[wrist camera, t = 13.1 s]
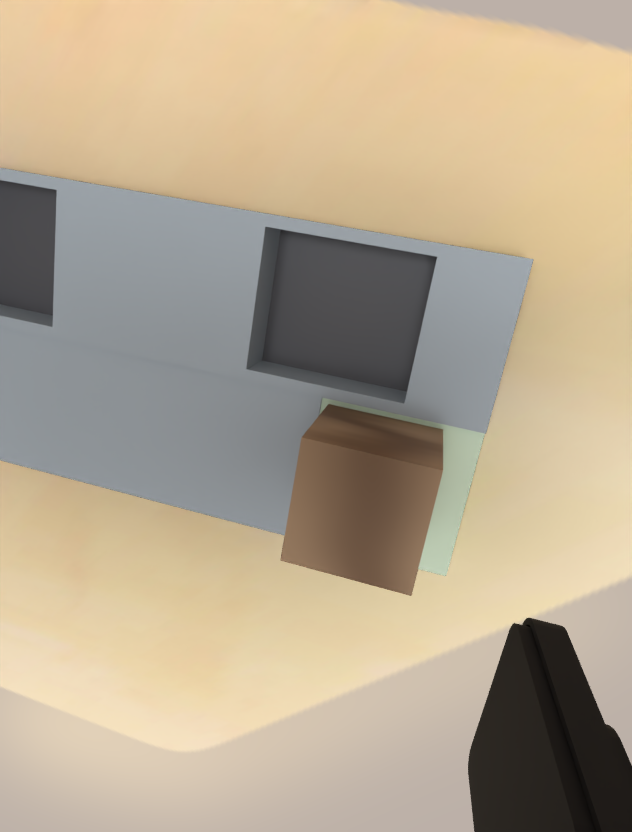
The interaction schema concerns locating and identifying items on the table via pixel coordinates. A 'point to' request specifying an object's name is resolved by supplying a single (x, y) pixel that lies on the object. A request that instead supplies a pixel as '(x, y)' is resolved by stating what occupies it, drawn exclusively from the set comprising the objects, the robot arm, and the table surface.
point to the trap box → (234, 345)
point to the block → (364, 497)
